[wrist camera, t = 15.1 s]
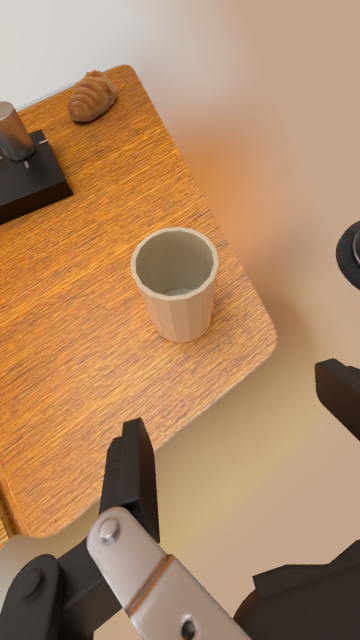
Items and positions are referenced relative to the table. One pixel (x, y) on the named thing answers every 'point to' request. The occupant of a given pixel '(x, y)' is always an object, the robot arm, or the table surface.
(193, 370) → the table surface
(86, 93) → the pastry
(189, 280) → the cup
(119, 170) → the table surface
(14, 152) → the knob
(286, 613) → the robot arm
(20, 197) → the hob
